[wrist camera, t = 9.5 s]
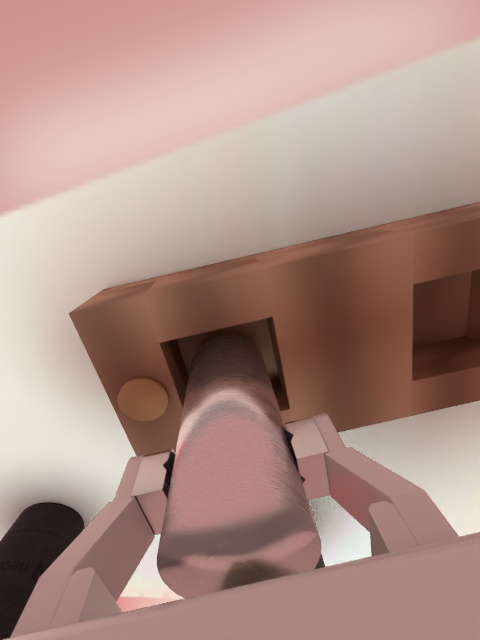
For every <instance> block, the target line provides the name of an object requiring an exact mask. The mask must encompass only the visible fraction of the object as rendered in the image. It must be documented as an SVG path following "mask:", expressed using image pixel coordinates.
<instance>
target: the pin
mask: <svg viewBox="0 0 480 640" xmlns="http://www.w3.org/2000/svg"><path fill="white" fill-rule="evenodd" d="M320 554H321V540H320V537H319V534H318V530H317V527H316V524H315V521H314V518H313V515H312V511H311V508H310V505H309V502H308V499H307V496H306V492H305V489H304V486H303V483H302V480H301V476H300V474H299V471H298V468H297V465H296V461H295V458H294V455H293V451H292V448H291V445H290V442H289V439H288V436H287V433H286V429H285V426H284V422H283V419H282V416H281V413H280V410H279V407H278V403H277V400H276V397H275V394H274V391H273V387H272V384H271V381H270V378H269V375H268V372H267V368H266V365H265V362H264V359H263V356H262V354H261V352H260V350H259V349H258V348H257V347H256V345H254V344H253V343H252V342H250V341H249V340H247V339H245V338H242V337H239V336H234V335H223V336H218V337H215V338H212V339H210V340H208V341H206V342H205V343H204V344H202V345H201V346H200V347H199V348H198V349H197V351H196V352H195V354H194V356H193V358H192V362H191V367H190V372H189V378H188V384H187V389H186V395H185V401H184V406H183V412H182V418H181V424H180V429H179V435H178V441H177V446H176V452H175V458H174V463H173V469H172V475H171V480H170V486H169V492H168V497H167V503H166V509H165V514H164V520H163V526H162V532H161V537H160V543H159V549H158V554H157V567H158V572H159V574H160V576H161V578H162V580H163V581H164V583H165V584H166V585H167V586H168V587H169V588H170V589H171V590H172V591H174V592H175V593H176V594H178V595H180V596H182V597H183V598H190V597H194V596H199V595H203V594H207V593H212V592H216V591H221V590H225V589H230V588H234V587H238V586H243V585H247V584H252V583H256V582H261V581H265V580H269V579H274V578H278V577H283V576H287V575H292V574H296V573H300V572H305V571H309V570H314V569H315V567H316V565H317V563H318V561H319V558H320Z"/></svg>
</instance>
